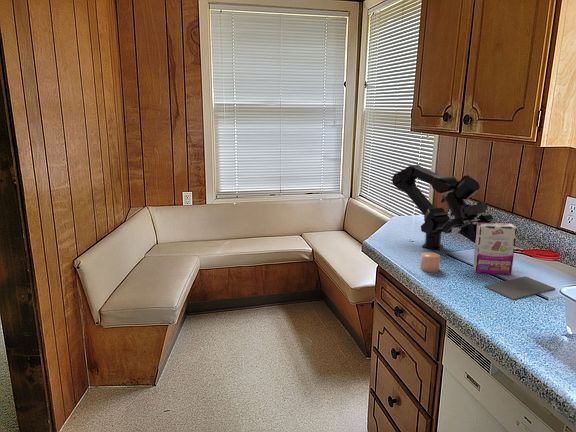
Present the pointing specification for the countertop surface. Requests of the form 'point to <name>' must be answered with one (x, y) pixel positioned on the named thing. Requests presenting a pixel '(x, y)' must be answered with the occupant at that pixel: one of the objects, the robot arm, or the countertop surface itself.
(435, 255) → the tan short cylinder
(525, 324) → the countertop surface
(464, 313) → the countertop surface
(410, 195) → the robot arm
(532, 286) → the mat
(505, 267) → the candy bar box
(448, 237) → the countertop surface
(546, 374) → the countertop surface
